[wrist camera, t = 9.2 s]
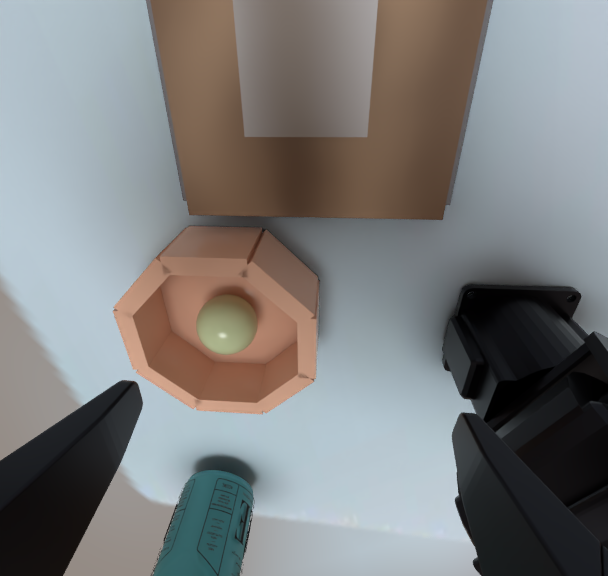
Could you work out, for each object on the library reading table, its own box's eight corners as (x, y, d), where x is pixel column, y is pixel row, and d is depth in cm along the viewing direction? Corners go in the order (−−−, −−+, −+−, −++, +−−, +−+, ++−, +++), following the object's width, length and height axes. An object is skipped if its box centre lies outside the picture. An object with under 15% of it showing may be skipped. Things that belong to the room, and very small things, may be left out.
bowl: (320, 228, 20) (317, 260, 16) (317, 371, 25) (315, 417, 22) (133, 224, 20) (93, 254, 17) (171, 363, 26) (146, 407, 22)
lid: (513, -168, 12) (648, -351, 7) (438, 214, 18) (477, 265, 13) (132, -146, 12) (-1, -294, 7) (194, 209, 19) (145, 256, 14)
